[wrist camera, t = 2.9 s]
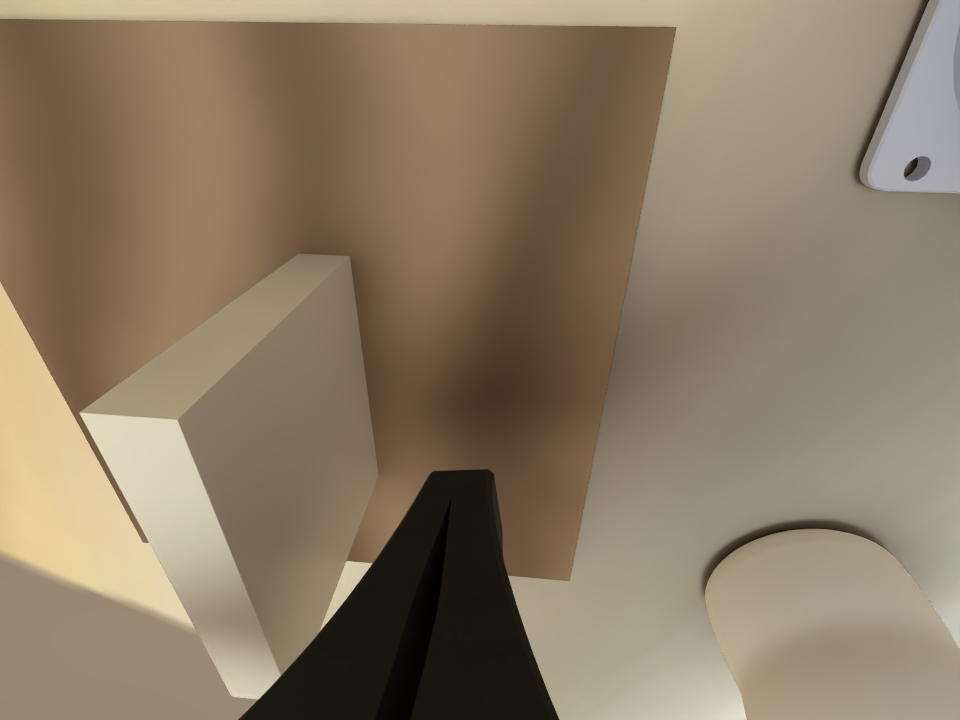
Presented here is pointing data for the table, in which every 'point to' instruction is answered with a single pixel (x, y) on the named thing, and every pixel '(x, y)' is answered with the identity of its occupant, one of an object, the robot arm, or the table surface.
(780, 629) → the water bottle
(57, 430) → the table surface
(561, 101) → the board
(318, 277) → the tile
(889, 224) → the table surface
